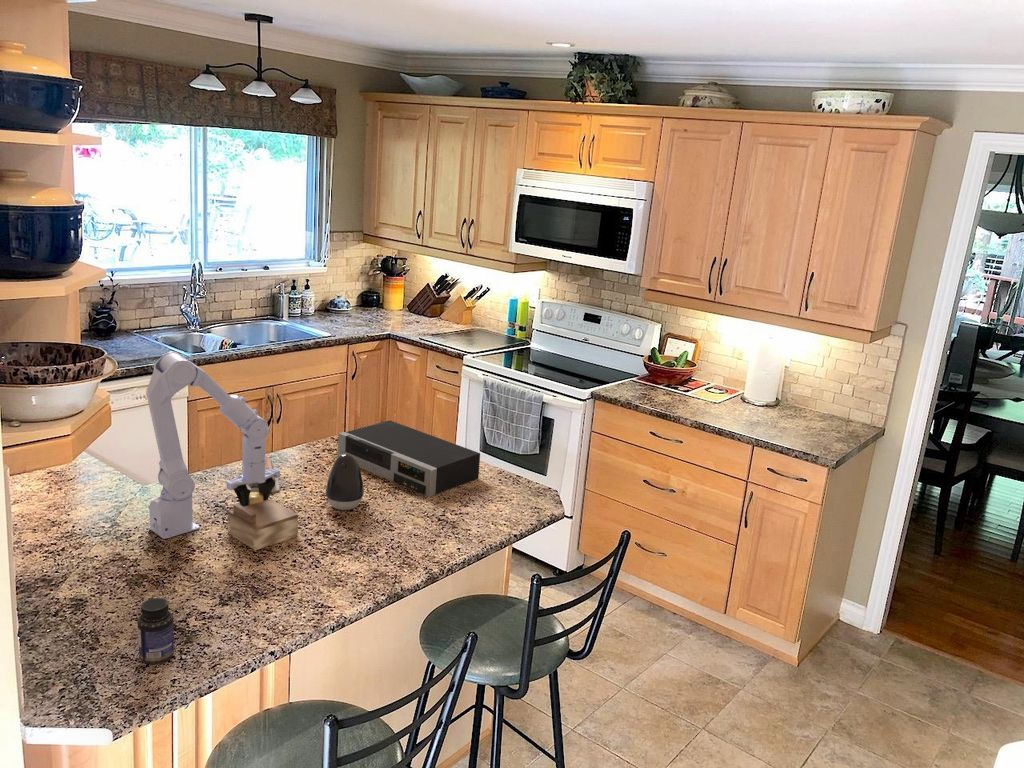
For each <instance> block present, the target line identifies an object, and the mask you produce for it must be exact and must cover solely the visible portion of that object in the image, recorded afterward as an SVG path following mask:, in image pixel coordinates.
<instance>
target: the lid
mask: <svg viewBox="0 0 1024 768" xmlns="http://www.w3.org/2000/svg"><path fill="white" fill-rule="evenodd" d="M232 507H233V509H231V510H228V512H227V515H228V514H229V515H231V516H232V517H234V518H235V519H237V520H239V521H240V522H242V523H244V524H245V525H247V526H248V527H250V528H252V529H253V530H255V531H257V530H260V529H263V528H266V527H269V526H272V525H276V524H279V523H282V522H285V521H288V520H291V519H295V518H298V519H299V514H298V513H296V512H294V511H293V510H291V509H289V508H287V507H286V506H284V505H282V504H280V503H278V502H276V501H275V500H273V499H271V498H268V500H265V501H262V502H258V503H255V504H251V505H248V506H244V507H243V506H241V505H240V503H234V504H233V506H232Z"/></svg>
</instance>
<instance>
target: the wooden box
mask: <svg viewBox="0 0 1024 768" xmlns="http://www.w3.org/2000/svg"><path fill="white" fill-rule="evenodd" d="M227 521H228V522H227V527H228V528H227V530H228V531H227V533H228V534H229V533H230V534H229V535H230V536H232V537H234V538H235V539H237V540H239V541H240V542H242V543H243V544H245V545H247V546H248V547H250V548H252V549H253V550H254V551H259V550H260V549H263V548H267V547H269V546H273V545H275V544H278V543H282V542H284V541H287V540H290V539H293V538H296V537H298V536H299V534H298V533H299V517H298V518H295V519H291V520H288V521H285V522H282V523H279V524H276V525H272V526H269V527H266V528H263V529H260V530H257V531H255V530H253V529H252V528H250V527H248V526H247V525H245V524H244V523H242V522H240V521H239V520H237V519H235V518H234V517H232V516H231V515H229V514H228V513H227Z"/></svg>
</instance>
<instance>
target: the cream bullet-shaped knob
mask: <svg viewBox="0 0 1024 768" xmlns="http://www.w3.org/2000/svg"><path fill="white" fill-rule="evenodd" d="M262 501H263V494H262V493H259V492H251V493H250V496H249V505H251V504H255V503H258V502H262Z"/></svg>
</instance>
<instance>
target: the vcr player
mask: <svg viewBox="0 0 1024 768" xmlns="http://www.w3.org/2000/svg"><path fill="white" fill-rule="evenodd" d="M337 438H338V439H337V457H338V456H340V455H342V454H350V455H352V456H353V457H354V458H355V459H356V461H357V463H358V465H359V468H360V469H363V470H365V471H367V472H369V473H372V474H374V475H377V476H379V477H381V478H383V479H386V480H388V481H391V482H393V483H396V484H398V485H401V486H403V487H406V488H408V489H410V490H412V491H415V492H417V493H420V494H422V495H424V496H426V497H428V498H431V497H434V496H436V495H439V494H441V493H443V492H446V491H449V490H452V489H454V488H458V487H460V486H462V485H466V484H467V483H470V482H473V481H476V480H478V479H479V477H480V474H479V473H480V462H481V461H480V460H481V453H480V452H478V451H476V450H472V449H469V448H466V447H465V446H461V445H458V444H456V443H453V442H450V441H449V440H445V439H443V438H440V437H436V436H434V435H431V434H429V433H426V432H423V431H420V430H417V429H415V428H413V427H412V428H411V427H409V426H406V425H403V424H402V423H398V422H395V421H393V420H386V421H383V422H379V423H375V424H371V425H367V426H364V427H360V428H355V429H353V430H348V431H343V432H338V434H337Z"/></svg>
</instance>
